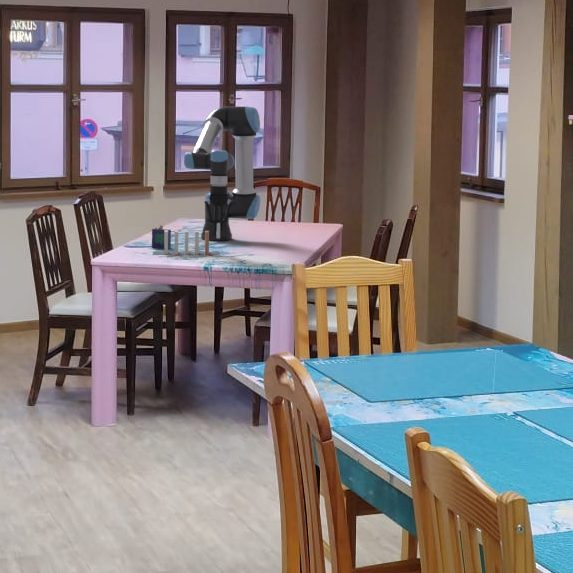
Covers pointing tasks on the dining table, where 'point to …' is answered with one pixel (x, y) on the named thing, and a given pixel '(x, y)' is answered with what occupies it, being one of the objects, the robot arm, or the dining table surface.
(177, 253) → the domino
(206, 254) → the mat
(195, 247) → the domino
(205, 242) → the domino
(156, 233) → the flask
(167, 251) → the domino
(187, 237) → the domino
